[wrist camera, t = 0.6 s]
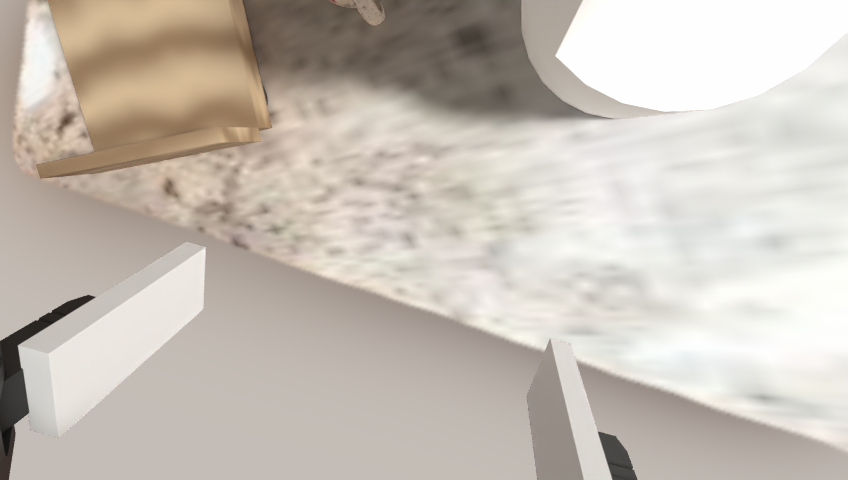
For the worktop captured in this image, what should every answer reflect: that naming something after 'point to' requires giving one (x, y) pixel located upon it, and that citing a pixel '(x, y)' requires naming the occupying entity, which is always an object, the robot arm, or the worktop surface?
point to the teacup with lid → (365, 9)
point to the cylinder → (673, 50)
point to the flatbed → (159, 80)
